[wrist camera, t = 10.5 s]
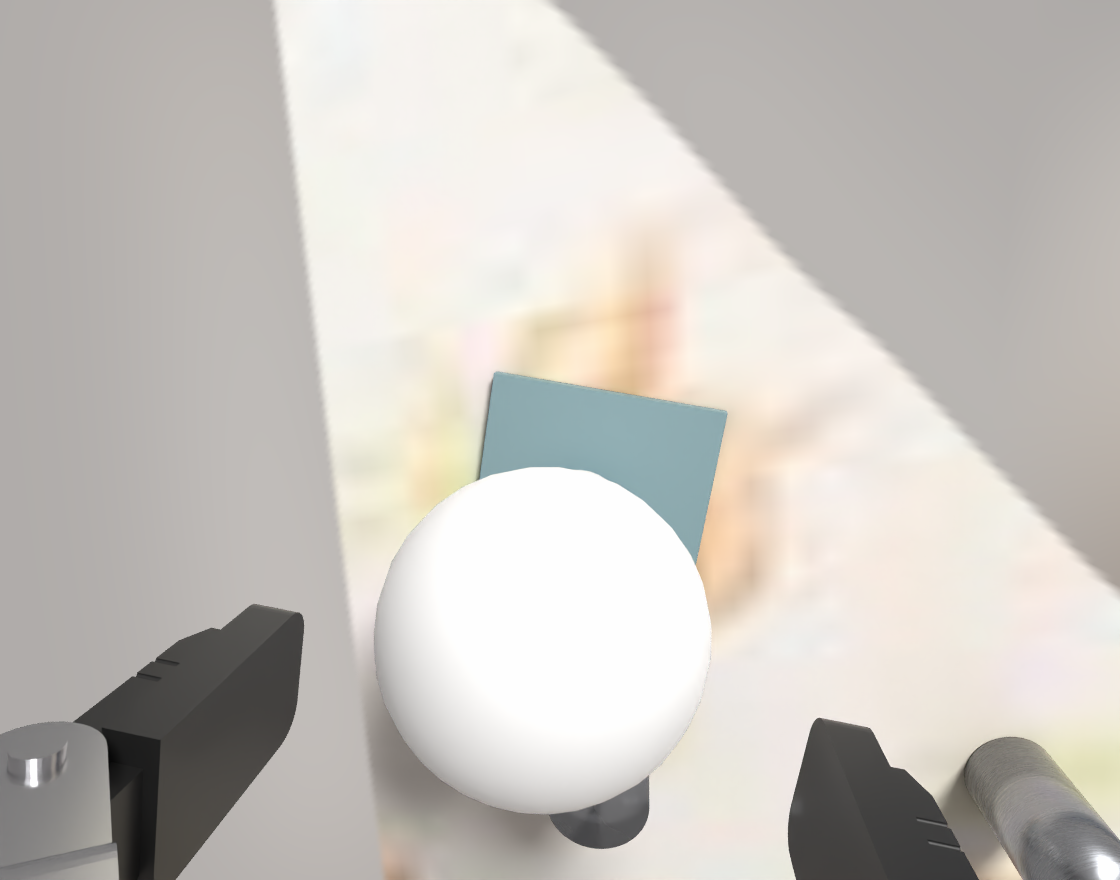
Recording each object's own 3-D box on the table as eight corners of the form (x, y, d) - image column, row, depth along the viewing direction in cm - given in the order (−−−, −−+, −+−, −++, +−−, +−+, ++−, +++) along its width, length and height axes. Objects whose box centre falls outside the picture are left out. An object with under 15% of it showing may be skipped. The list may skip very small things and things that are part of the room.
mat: (681, 623, 23) (681, 630, 23) (467, 582, 23) (464, 587, 23) (726, 410, 21) (727, 413, 21) (496, 371, 22) (494, 373, 21)
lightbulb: (442, 545, 23) (258, 787, 12) (532, 360, 21) (412, 451, 11) (626, 640, 23) (606, 967, 12) (729, 461, 21) (808, 654, 11)
